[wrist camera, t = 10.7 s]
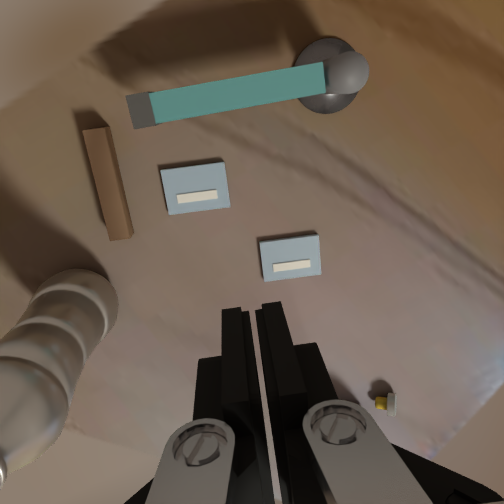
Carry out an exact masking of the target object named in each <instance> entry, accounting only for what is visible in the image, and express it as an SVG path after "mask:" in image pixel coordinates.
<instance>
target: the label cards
mask: <svg viewBox="0 0 504 504" xmlns="http://www.w3.org/2000/svg"><path fill="white" fill-rule="evenodd" d="M160 171H161V176H162V181H163V186H164V192H165V197H166V202H167V207H168V212H169V215H172V214H180V213H188V212H195V211H203V210H211V209H218V208H226V207H230V199H229V192H228V185H227V178H226V171H225V164H224V162H217V163H209V164H201V165H194V166H186V167H178V168H171V169H163V170H160ZM259 243H260V252H261V260H262V268H263V277H264V282H267V281H275V280H282V279H290V278H297V277H305V276H312V275H320V274H321V262H320V248H319V235H318V234H312V235H305V236H297V237H290V238H282V239H274V240H267V241H259Z"/></svg>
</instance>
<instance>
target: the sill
mask: <svg viewBox="0 0 504 504" xmlns="http://www.w3.org/2000/svg"><path fill="white" fill-rule="evenodd" d="M82 132H83V136H84V140H85V144H86V148H87V152H88V156H89V160H90V164H91V168H92V172H93V176H94V180H95V184H96V188H97V192H98V195H99V199H100V203H101V207H102V211H103V215H104V219H105V223H106V227H107V231H108V235H109V239H110V241H114V240H121V239H129V238H131V236H132V235H133V233H134V231H133V226H132V222H131V218H130V213H129V209H128V205H127V200H126V196H125V191H124V187H123V183H122V178H121V174H120V170H119V165H118V161H117V157H116V152H115V148H114V143H113V139H112V135H111V130H110V126H108V127H101V128H93V129H87V130H82Z"/></svg>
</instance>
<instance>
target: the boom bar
mask: <svg viewBox="0 0 504 504" xmlns="http://www.w3.org/2000/svg"><path fill="white" fill-rule="evenodd" d="M368 76H369V66H368V63H367V61H366V59H365V58H364V57H363V56H362V55H361V54H360V53H358V52H354V51H348V52H344V53H342V54H339V55H336V56H334V57H331V58H328V59H325V60H323V61H321V62H319V63H313V64H308V65H302V66H297V67H291V68H286V69H280V70H275V71H269V72H264V73H258V74H253V75H247V76H242V77H236V78H231V79H225V80H220V81H214V82H209V83H203V84H198V85H192V86H187V87H181V88H176V89H170V90H165V91H159V92H143V93H138V94H132V95H127V96H126V100H127V104H128V108H129V112H130V115H131V119H132V123H133V127H134V129H139V128H144V127H150V126H156V125H158V124H161V123H162V122H168V121H173V120H179V119H184V118H190V117H195V116H201V115H206V114H212V113H218V112H223V111H229V110H234V109H240V108H245V107H251V106H256V105H262V104H267V103H273V102H278V101H284V100H289V99H295V98H300V97H306V96H311V95H317V94H322V93H323V94H352V93H355V92H357V91H359V90H360V89H361V88H362V87H363V86H364V85H365V83H366V82H367V79H368Z"/></svg>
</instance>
